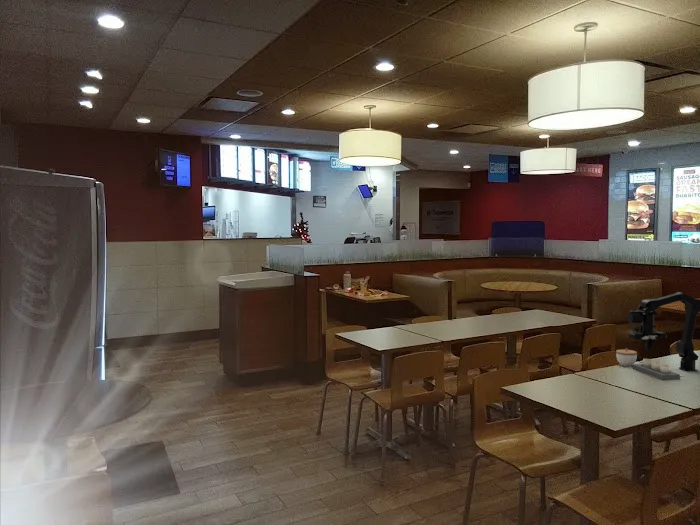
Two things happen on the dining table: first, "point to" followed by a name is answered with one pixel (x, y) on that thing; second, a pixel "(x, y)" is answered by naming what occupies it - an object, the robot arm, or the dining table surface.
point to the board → (656, 372)
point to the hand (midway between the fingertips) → (647, 351)
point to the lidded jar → (626, 357)
